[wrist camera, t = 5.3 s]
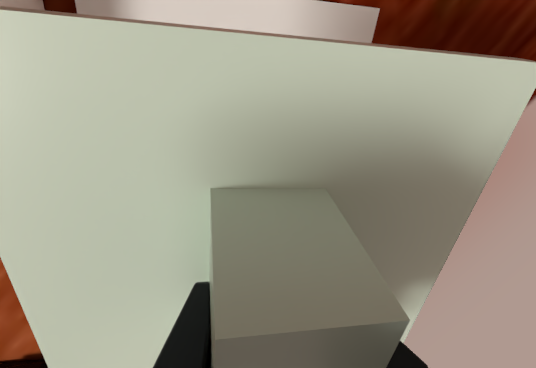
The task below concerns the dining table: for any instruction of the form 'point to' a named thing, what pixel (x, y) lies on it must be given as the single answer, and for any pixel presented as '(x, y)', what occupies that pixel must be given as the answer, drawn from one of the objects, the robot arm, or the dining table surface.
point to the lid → (236, 185)
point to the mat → (249, 15)
